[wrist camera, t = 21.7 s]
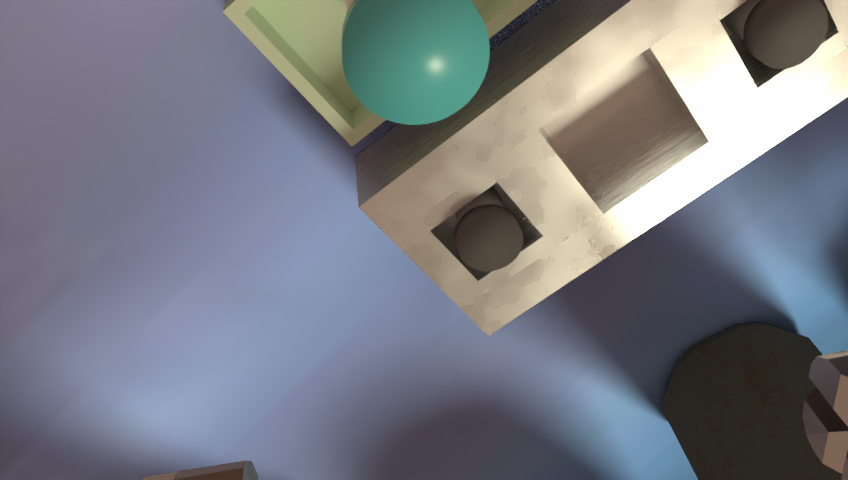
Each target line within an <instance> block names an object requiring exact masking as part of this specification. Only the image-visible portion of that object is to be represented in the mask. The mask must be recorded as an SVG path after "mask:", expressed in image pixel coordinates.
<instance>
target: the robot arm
mask: <svg viewBox="0 0 848 480" xmlns="http://www.w3.org/2000/svg"><path fill="white" fill-rule="evenodd" d="M809 378H810V379H811V381H812V382H813V383H814V385H815V386H816V388H815V389H814V390H813V391H812V392H811V393H810V394H809V395H808V396H807V397H806V398H805V399H804V407H803V415H802V417H803V422H804V427H805V432H806V436H807V438H808V440H809V442H810V444H811V447H812V449H813V450H814V452H815V453H816V455H817V456H818V458H819V459H820V461H821V462H822V463H823V464H824V465H826V466H828V467H830V468H832V469H834V470H835V471H837V472H839V473H841V474H842V476H841V480H848V350H846V351H841V352H836V353H831V354H826V355H821V356H817V357H816V358H815V359H814V361H813V362H812V363H811V367H810V372H809ZM142 480H258V475H257V472H256V470H255V468H254V465H253V463H252V461H241V462H234V463H228V464H222V465H215V466H209V467H202V468H196V469H189V470H183V471H179V472H174V473H168V474H161V475H155V476H149V477H144V478H143V479H142Z"/></svg>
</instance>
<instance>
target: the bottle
mask: <svg viewBox="0 0 848 480" xmlns="http://www.w3.org/2000/svg"><path fill="white" fill-rule="evenodd" d="M821 355H822V353H821V352H820V351H819V350H818V349H817V347H816V346H815V345H814V344H813V343H812V341H811V340H810V339H809V338H808V337H805V336H802V335H798V334H795V333H792V332H789V331H786V330H783V329H780V328H777V327H774V326H771V325H768V324H764V323H760V322H754V323H745V324H737V325H734V326H731V327H729V328H727V329H725V330H723V331H721V332H719V333H717V334H715V335H713V336H711V337H709V338H707V339H705V340H703V341H701V342H699V343H697V344H695V345H693V346H691V347H690V348H689V349H688V350H687V351H686V352H685V353H684V354H683V355H682V356H681V357H680V358H679V359H678V360H677V361H676V363H675V366H674V369H673V372H672V375H671V378H670V380H669V383H668V386H667V389H666V392H665V395H664V398H663V403H662V407H661V408H662V410H663V412H664V414H665V416H666V418H667V420H668V421H669V423H670V425H671V427H672V429H673V431H674V433H675V435H676V437H677V439H678V441H679V443H680V445H681V447H682V449H683V451H684V453H685V455H686V456H687V458H688V460H689V462H690V464H691V466H692V468H693V470H694V472H695V474H696V476H697V478H698V480H841V476H842V474H841V473H839V472H837V471H835V470H834V469H832V468H830V467H828V466H826V465H824V464H823V463H822V462H821V461H820V459H819V458H818V456H817V455H816V453H815V452H814V450H813V449H812V447H811V444H810V442H809V440H808V438H807V436H806V432H805V427H804V422H803V417H802V415H803V407H804V399H805V398H806V397H807V396H808V395H809V394H810V393H811V392H812V391H813V390H814V389H815V388H816V386H815V385H814V383H813V382H812V381H811V379H810V378H809V372H810V367H811V363H812V362H813V361H814V359H815V358H816V357H817V356H821Z"/></svg>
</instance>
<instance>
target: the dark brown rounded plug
mask: <svg viewBox="0 0 848 480" xmlns="http://www.w3.org/2000/svg"><path fill="white" fill-rule="evenodd" d="M724 20H725V24H726V26H727V27H728V29H729V30H730V31H731V32H733V33H734V34H736V35H737V36H738V37H740V38H741V39H743V40H744V44H745V46H746V49H747V50H748V52H749V53H750V54H751V55H752V56H754V57H755V58H757V59H758V60H759V61H761V62H762V63H764V64H765V65H767V66H769V67H771V68H775V69H787V68H791V67H794V66H797V65H799V64H801V63H802V62H804V61H805V60H807V59H808V58H809V57H810V56H812V55H813V54H814V53H815V51H816V50H817V49H818V48H819V46H820V45H821V43H822V41H823V39H824V37H825V35H826V32H827V27H828V16H827V12H826V9H825V8H824V6H823V5H822V3H821V2H820V1H818V0H747V1H746V2H744V3H743V4H742V5H740V6H739V7H738V8H736V9H735V10H733V11H732V12H731V13H729V14H728V15H727V16H725V17H724Z"/></svg>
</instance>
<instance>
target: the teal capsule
mask: <svg viewBox="0 0 848 480" xmlns="http://www.w3.org/2000/svg"><path fill="white" fill-rule="evenodd" d="M489 56H490V43H489V37H488V33H487V29H486V26H485V24H484V22H483V19H482V17H481V15H480V14H479V12H478V10H477V8H476V6H475V5H474V3H473V1H472V0H346V16H345V19H344V23H343V28H342V63H343V70H344V73H345V77H346V79H347V82H348V84H349V86H350V88H351V90H352V91H353V93H354V95H355V96H356V97H357V98H358V100H359V101H360V102H361V103H362V104H363V105H364V106H365V107H366V108H367V109H369V110H370V111H372V112H373V113H374V114H376V115H378V116H380V117H381V118H384V119H386V120H389V121H391V122H395V123H399V124H406V125H421V124H429V123H433V122H437V121H439V120H442V119H445V118H447V117H449V116H450V115H452V114H454V113H456V112H457V111H458V110H460V109H461V108H462V107H464V106H465V105H466V104H467V103H468V102H469V101H470V100H471V99H472V98H473V96H474V95H475V94H476V92H477V91H478V89H479V88H480V86H481V84H482V82H483V80H484V78H485V75H486V72H487V68H488V64H489Z"/></svg>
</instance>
